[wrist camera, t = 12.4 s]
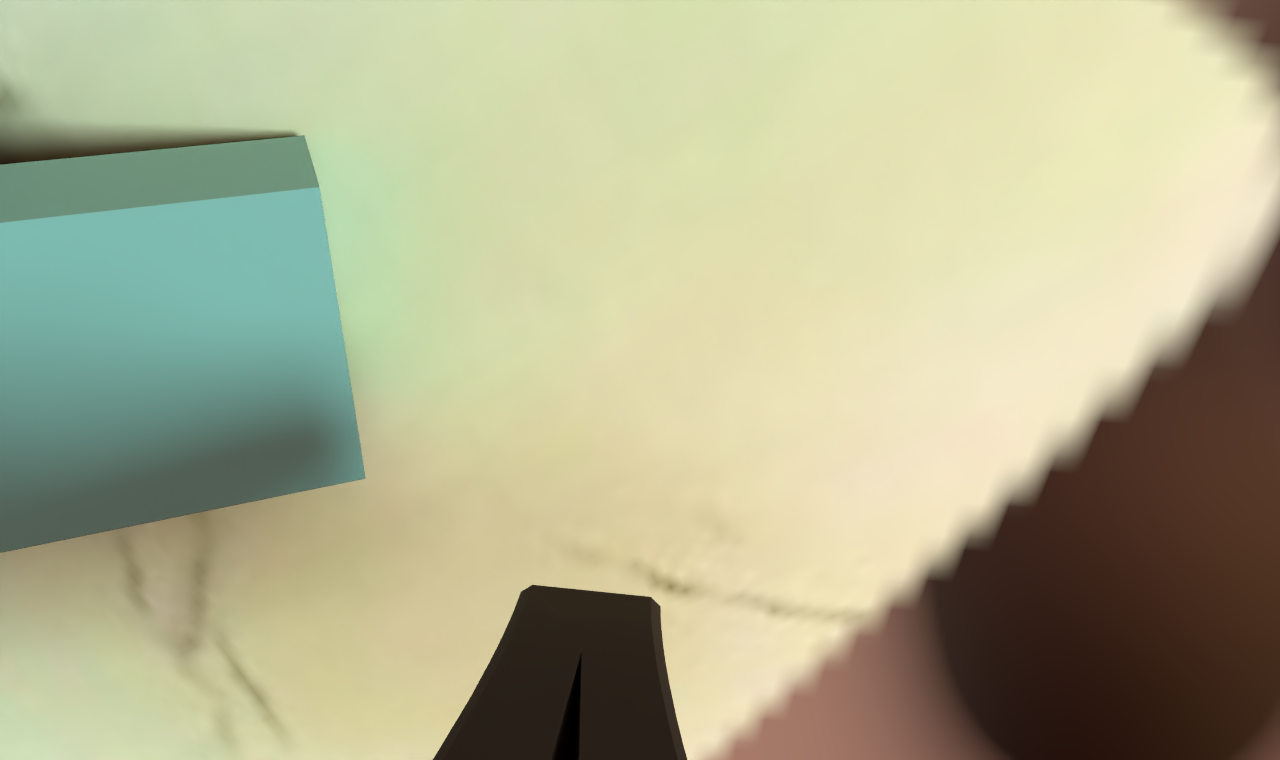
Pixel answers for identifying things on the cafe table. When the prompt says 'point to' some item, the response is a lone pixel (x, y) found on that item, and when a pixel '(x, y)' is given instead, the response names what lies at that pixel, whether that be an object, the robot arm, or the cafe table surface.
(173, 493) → the domino
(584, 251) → the cafe table surface
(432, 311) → the cafe table surface
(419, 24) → the cafe table surface
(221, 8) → the cafe table surface
